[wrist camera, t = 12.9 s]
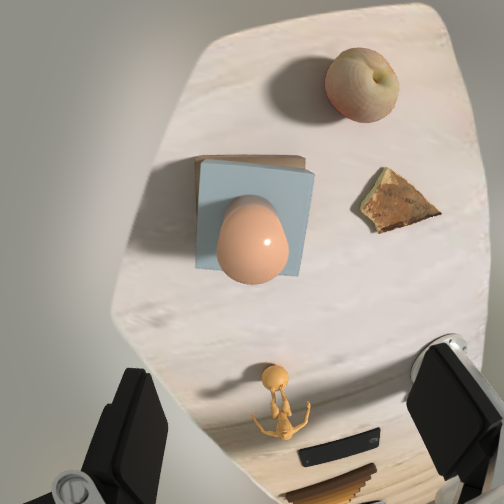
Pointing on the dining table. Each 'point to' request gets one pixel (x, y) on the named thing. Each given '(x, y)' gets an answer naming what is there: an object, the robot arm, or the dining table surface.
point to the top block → (252, 183)
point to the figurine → (275, 381)
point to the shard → (395, 203)
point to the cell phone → (340, 448)
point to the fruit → (362, 85)
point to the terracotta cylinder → (252, 241)
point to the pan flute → (334, 488)
